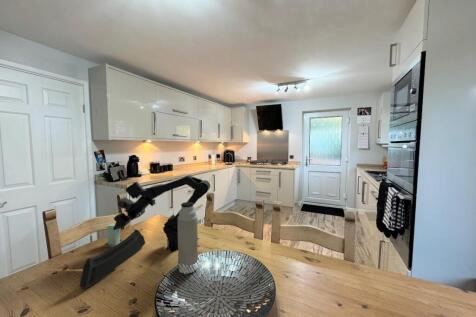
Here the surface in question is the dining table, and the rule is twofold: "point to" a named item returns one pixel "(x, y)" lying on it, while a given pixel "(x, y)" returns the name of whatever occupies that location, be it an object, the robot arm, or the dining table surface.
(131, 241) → the magazine
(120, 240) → the rack
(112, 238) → the pale green block
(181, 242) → the thermos bottle
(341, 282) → the dining table surface
